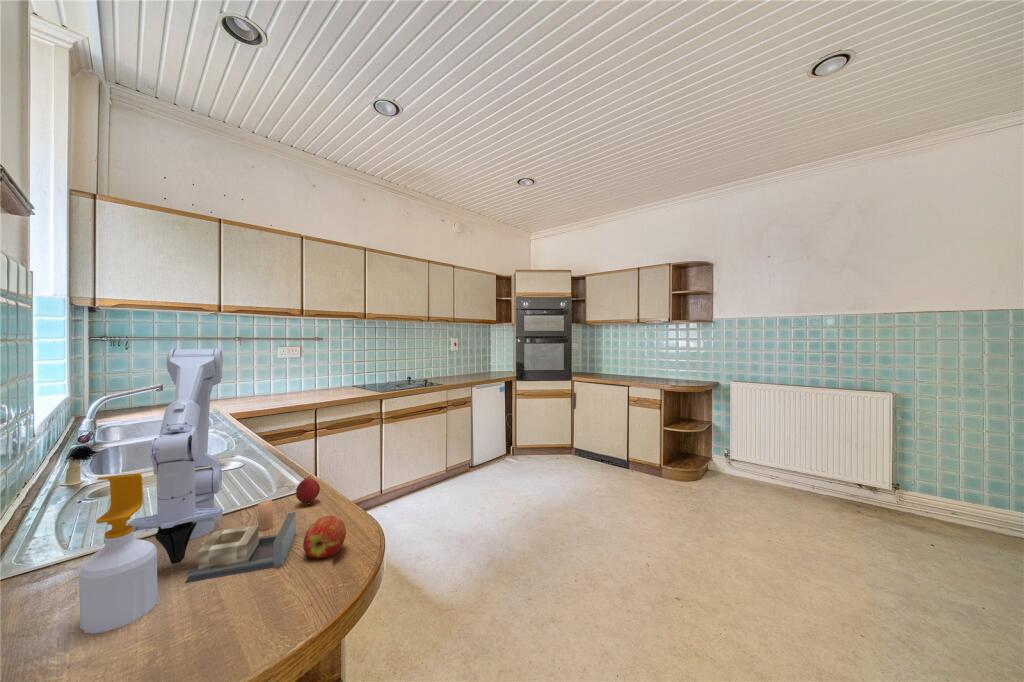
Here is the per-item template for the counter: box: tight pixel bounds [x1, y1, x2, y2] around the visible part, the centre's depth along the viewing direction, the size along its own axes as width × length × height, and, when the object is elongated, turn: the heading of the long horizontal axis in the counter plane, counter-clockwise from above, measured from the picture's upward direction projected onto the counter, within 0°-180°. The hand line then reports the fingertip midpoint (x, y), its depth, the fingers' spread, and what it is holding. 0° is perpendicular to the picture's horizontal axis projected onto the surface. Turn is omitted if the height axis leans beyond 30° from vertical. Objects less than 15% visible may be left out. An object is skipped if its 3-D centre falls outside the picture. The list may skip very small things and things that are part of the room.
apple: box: [302, 515, 347, 560], centre depth 82 cm, size 8×8×8 cm
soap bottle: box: [78, 472, 159, 635], centre depth 64 cm, size 9×9×25 cm
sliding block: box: [197, 524, 260, 570], centre depth 79 cm, size 8×8×4 cm
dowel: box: [257, 499, 274, 532], centre depth 91 cm, size 3×3×7 cm
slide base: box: [184, 512, 297, 584], centre depth 80 cm, size 16×13×6 cm
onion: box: [295, 474, 321, 505], centre depth 106 cm, size 6×6×8 cm
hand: (177, 560), depth 76 cm, fingers closed
